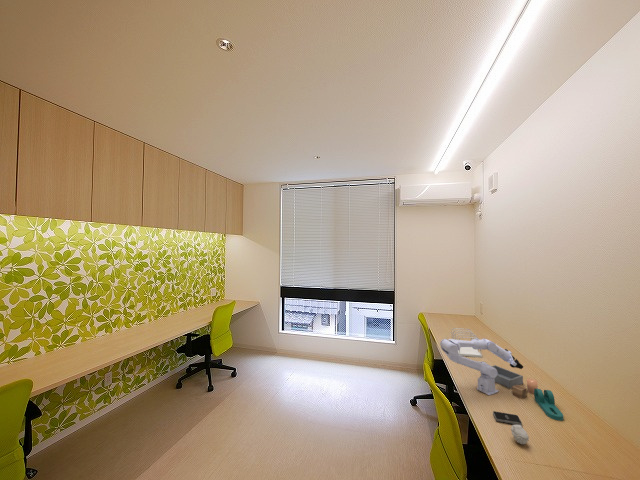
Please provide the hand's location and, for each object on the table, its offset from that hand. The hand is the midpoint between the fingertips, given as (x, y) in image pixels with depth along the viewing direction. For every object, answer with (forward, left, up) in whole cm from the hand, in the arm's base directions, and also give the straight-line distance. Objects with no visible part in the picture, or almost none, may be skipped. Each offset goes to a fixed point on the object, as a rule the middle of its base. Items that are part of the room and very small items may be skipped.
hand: (518, 363), depth 163 cm
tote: (+1, +11, -15) cm, 19 cm away
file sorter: (+25, +55, -16) cm, 62 cm away
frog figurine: (-49, -27, -15) cm, 58 cm away
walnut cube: (-9, -5, -15) cm, 18 cm away
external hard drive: (-38, -15, -16) cm, 44 cm away
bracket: (-10, -20, -16) cm, 27 cm away
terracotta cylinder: (+2, -6, -15) cm, 17 cm away
